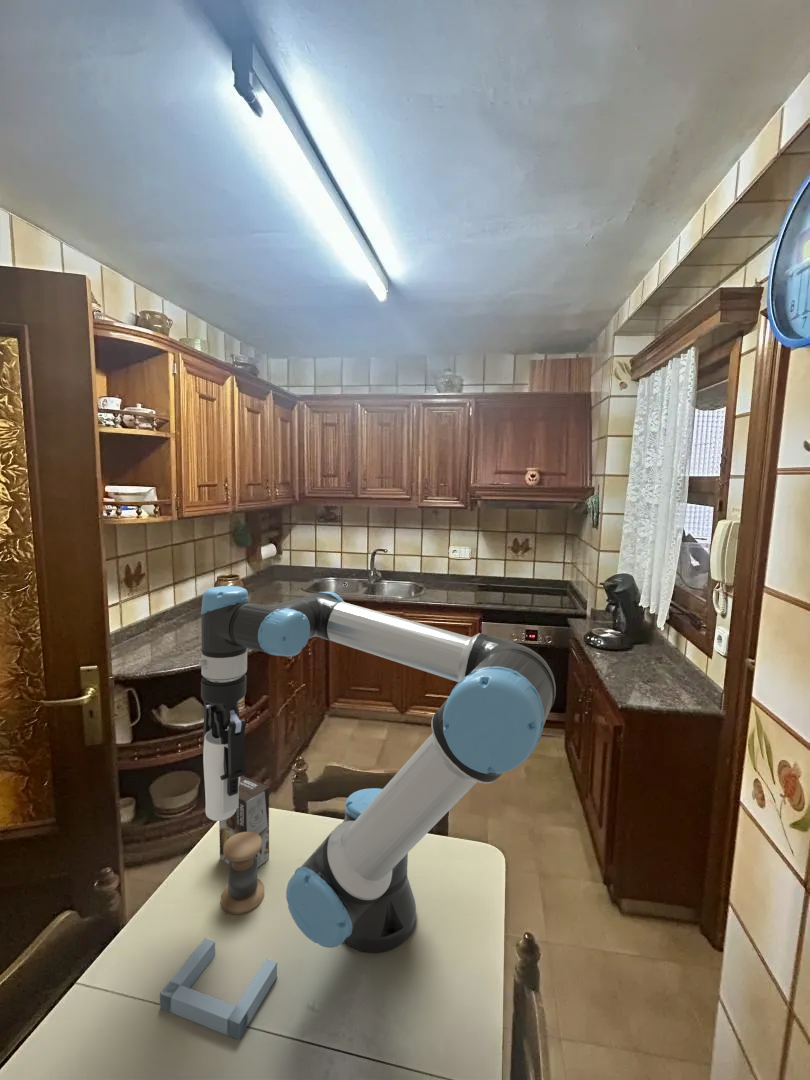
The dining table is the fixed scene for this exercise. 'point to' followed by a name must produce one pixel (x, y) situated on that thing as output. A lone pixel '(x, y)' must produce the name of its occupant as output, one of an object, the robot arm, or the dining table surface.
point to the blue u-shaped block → (209, 1008)
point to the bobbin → (242, 874)
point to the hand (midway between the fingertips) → (222, 799)
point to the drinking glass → (214, 777)
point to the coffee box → (249, 817)
